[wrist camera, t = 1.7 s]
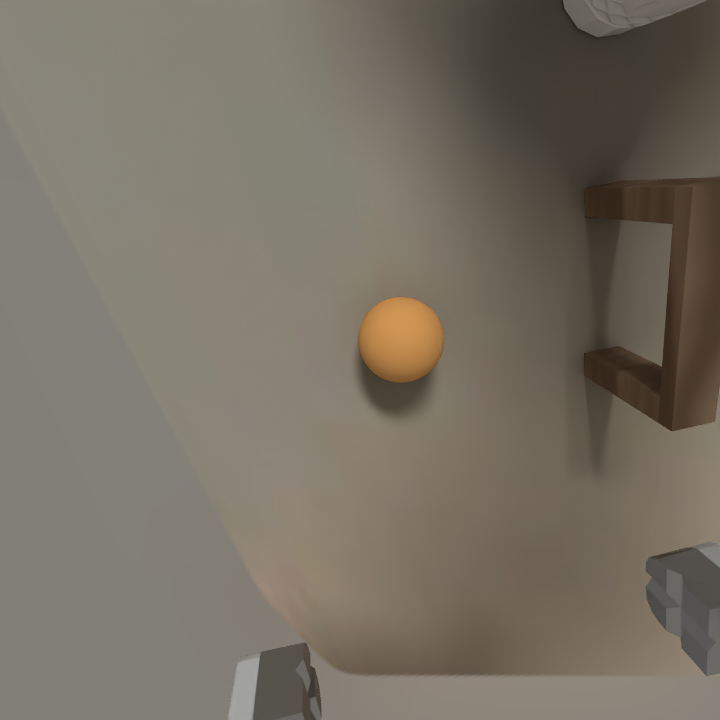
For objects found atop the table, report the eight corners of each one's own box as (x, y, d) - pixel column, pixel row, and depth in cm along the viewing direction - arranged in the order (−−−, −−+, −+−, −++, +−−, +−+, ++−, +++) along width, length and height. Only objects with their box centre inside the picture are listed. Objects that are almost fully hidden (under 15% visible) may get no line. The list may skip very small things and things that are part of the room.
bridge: (584, 375, 39) (671, 431, 30) (585, 188, 33) (692, 186, 24) (617, 368, 39) (715, 421, 30) (624, 180, 33) (745, 176, 24)
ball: (347, 297, 34) (356, 318, 28) (425, 282, 34) (450, 299, 28) (360, 371, 36) (372, 404, 30) (434, 356, 36) (459, 386, 31)
